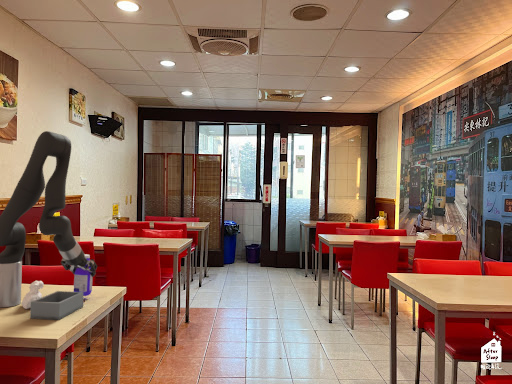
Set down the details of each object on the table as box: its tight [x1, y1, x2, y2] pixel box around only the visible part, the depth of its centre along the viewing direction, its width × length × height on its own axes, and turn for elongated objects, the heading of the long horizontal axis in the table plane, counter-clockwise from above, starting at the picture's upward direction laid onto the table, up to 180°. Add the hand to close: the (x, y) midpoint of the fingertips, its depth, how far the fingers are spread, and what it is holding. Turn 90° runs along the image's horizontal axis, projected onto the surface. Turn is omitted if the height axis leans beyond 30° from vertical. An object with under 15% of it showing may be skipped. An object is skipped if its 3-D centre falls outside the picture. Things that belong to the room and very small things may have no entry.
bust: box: [21, 280, 45, 310], centre depth 151 cm, size 12×8×11 cm
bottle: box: [73, 253, 93, 297], centre depth 164 cm, size 7×6×17 cm
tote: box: [29, 290, 84, 321], centre depth 144 cm, size 11×16×6 cm
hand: (85, 274), depth 165 cm, fingers closed on bottle, 7 cm apart
